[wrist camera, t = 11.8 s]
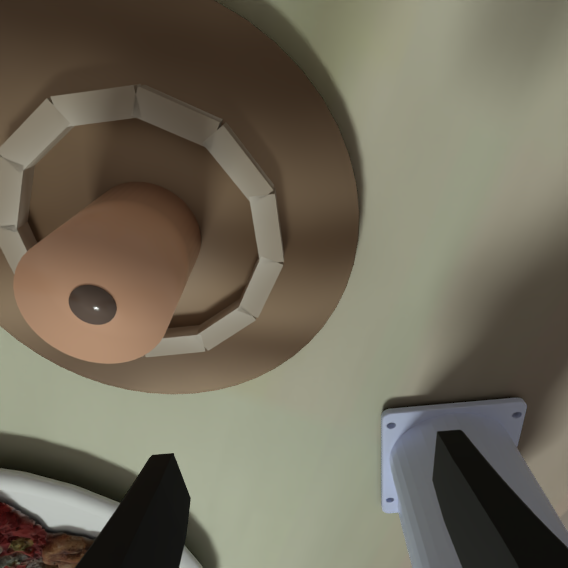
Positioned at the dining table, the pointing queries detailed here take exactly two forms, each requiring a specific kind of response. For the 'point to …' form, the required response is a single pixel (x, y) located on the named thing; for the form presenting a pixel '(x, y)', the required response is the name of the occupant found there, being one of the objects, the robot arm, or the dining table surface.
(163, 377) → the ring board
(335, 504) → the dining table surface
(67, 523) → the plated food
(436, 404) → the robot arm
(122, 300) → the terracotta bead
